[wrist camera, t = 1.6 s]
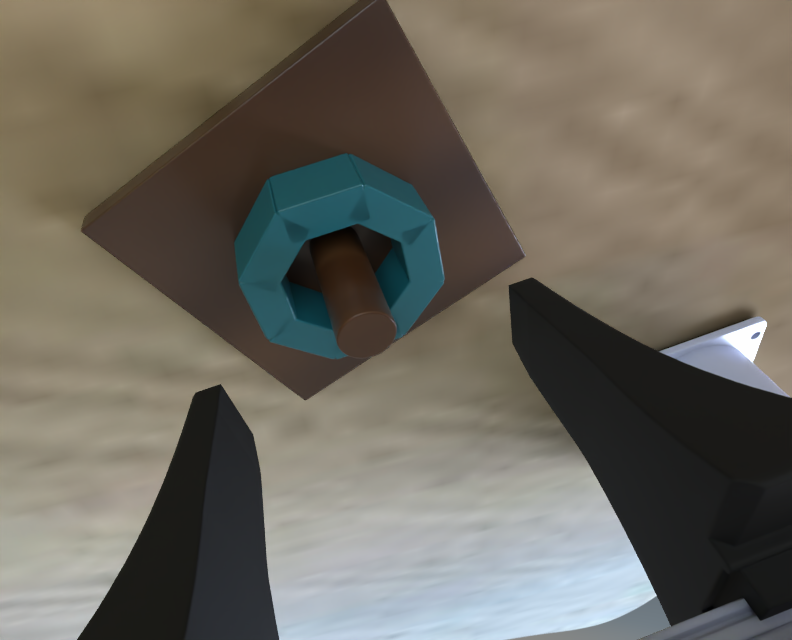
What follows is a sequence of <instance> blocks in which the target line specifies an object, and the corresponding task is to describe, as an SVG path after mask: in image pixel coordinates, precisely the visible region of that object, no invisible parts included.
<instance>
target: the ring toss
mask: <svg viewBox="0 0 792 640" xmlns="http://www.w3.org/2000/svg"><path fill="white" fill-rule="evenodd" d="M345 153H347V154H348V155H349V154H353V155H355V156H356V157H358V158H360V159H362V160H364V161H366V162H368V163H370V164H372V165H374V166H376V167H378V168H380V169H382V170H384V171H386V172H388V173H390V174H392V175H394V176H396V177H398V178H399V179H401V180H403V181H405V182H407V183H409V184H411V185H413V187H414V188H415V190H416V191H417V193H418V194H419V196H420V197H421V199H422V201H423V202H424V204H425V205H426V207H427V208H428V210H429V211H430V213H431V214H432V216H433V218H434V219H435V224H436V229H437V235H438V241H439V247H440V253H441V259H442V264H443V270H444V276H445V280H444V284H443V285H442V287H441V288H440V289H439V291H438V292H437V293H436V295H435V296H434V297H433V299H432V300H431V301H430V302H429V304H428V305H427V306H426V308H425V309H424V310H423V312H422V313H421V314H420V316H419V317H418V318H417V320H416V321H415V322H414V324H413V325H412V326H411V328H410V329H409V330H408V332H407V333H406V334H408V333H409V332H411V331H412V330H414V329H415V328H417V327H418V326H420V325H422V324H423V323H425V322H426V321H428V320H429V319H431V318H432V317H434V316H435V315H437V314H438V313H440V312H441V311H443V310H444V309H446V308H447V307H449V306H451V305H452V304H454V303H455V302H457V301H458V300H460V299H461V298H463V297H464V296H466V295H467V294H469V293H470V292H472V291H473V290H475V289H476V288H478V287H480V286H481V285H483V284H484V283H486V282H487V281H489V280H490V279H492V278H493V277H495V276H496V275H498V274H499V273H501V272H502V271H504V270H505V269H507V268H509V267H510V266H512V265H513V264H515V263H516V262H518V261H519V260H521V259H522V258H524V257H525V256H526V255H525V253H524V251H523V249H522V247H521V245H520V244H519V242H518V240H517V238H516V236H515V234H514V233H513V231H512V229H511V227H510V225H509V223H508V222H507V220H506V218H505V216H504V214H503V213H502V211H501V209H500V207H499V205H498V203H497V202H496V200H495V198H494V196H493V194H492V192H491V191H490V189H489V187H488V185H487V183H486V182H485V180H484V178H483V176H482V174H481V172H480V171H479V169H478V167H477V165H476V163H475V161H474V160H473V158H472V156H471V154H470V152H469V151H468V149H467V147H466V145H465V143H464V141H463V140H462V138H461V136H460V134H459V132H458V130H457V129H456V127H455V125H454V123H453V121H452V119H451V118H450V116H449V114H448V112H447V110H446V109H445V107H444V105H443V103H442V101H441V99H440V98H439V96H438V94H437V92H436V90H435V88H434V87H433V85H432V83H431V81H430V79H429V78H428V76H427V74H426V72H425V70H424V68H423V67H422V65H421V63H420V61H419V59H418V57H417V56H416V54H415V52H414V50H413V48H412V46H411V45H410V43H409V41H408V39H407V37H406V36H405V34H404V32H403V30H402V28H401V26H400V25H399V23H398V21H397V19H396V17H395V15H394V14H393V12H392V10H391V8H390V6H389V5H388V3H387V1H386V0H359V1H358V2H356V3H355V4H354V5H353V6H351V7H350V8H349V9H348V10H346V11H345V12H344V13H342V14H341V15H340V16H339V17H337V18H336V19H335V20H334V21H332V22H331V23H330V24H329V25H327V26H326V27H325V28H323V29H322V30H321V31H320V32H318V33H317V34H316V35H315V36H313V37H312V38H311V39H310V40H308V41H307V42H306V43H304V44H303V45H302V46H301V47H299V48H298V49H297V50H296V51H294V52H293V53H292V54H290V55H289V56H288V57H287V58H285V59H284V60H283V61H282V62H280V63H279V64H278V65H277V66H275V67H274V68H273V69H271V70H270V71H269V72H268V73H266V74H265V75H264V76H263V77H261V78H260V79H259V80H258V81H256V82H255V83H254V84H252V85H251V86H250V87H249V88H247V89H246V90H245V91H244V92H242V93H241V94H240V95H238V96H237V97H236V98H235V99H233V100H232V101H231V102H230V103H228V104H227V105H226V106H225V107H223V108H222V109H221V110H219V111H218V112H217V113H216V114H214V115H213V116H212V117H211V118H209V119H208V120H207V121H206V122H204V123H203V124H202V125H200V126H199V127H198V128H197V129H195V130H194V131H193V132H192V133H190V134H189V135H188V136H186V137H185V138H184V139H183V140H181V141H180V142H179V143H178V144H176V145H175V146H174V147H173V148H171V149H170V150H169V151H167V152H166V153H165V154H164V155H162V156H161V157H160V158H159V159H157V160H156V161H155V162H154V163H152V164H151V165H150V166H148V167H147V168H146V169H145V170H143V171H142V172H141V173H140V174H138V175H137V176H136V177H134V178H133V179H132V180H131V181H129V182H128V183H127V184H126V185H124V186H123V187H122V188H121V189H119V190H118V191H117V192H115V193H114V194H113V195H112V196H110V197H109V198H108V199H107V200H105V201H104V202H103V203H102V204H100V205H99V206H98V207H96V208H95V209H94V210H93V211H91V212H90V213H89V214H88V215H86V216H85V218H84V221H83V225H82V228H81V231H82V232H83V233H84V234H85V235H87V236H88V237H89V238H91V239H92V240H93V241H95V242H96V243H97V244H99V245H100V246H101V247H102V248H104V249H105V250H106V251H108V252H109V253H110V254H112V255H113V256H114V257H116V258H117V259H118V260H120V261H121V262H122V263H124V264H125V265H126V266H128V267H129V268H130V269H132V270H133V271H134V272H136V273H137V274H138V275H140V276H141V277H142V278H144V279H145V280H146V281H148V282H149V283H150V284H152V285H153V286H154V287H156V288H157V289H158V290H159V291H161V292H162V293H163V294H165V295H166V296H167V297H169V298H170V299H171V300H173V301H174V302H175V303H177V304H178V305H179V306H181V307H182V308H183V309H185V310H186V311H187V312H189V313H190V314H191V315H193V316H194V317H195V318H197V319H198V320H199V321H201V322H202V323H203V324H205V325H206V326H207V327H209V328H210V329H211V330H212V331H214V332H215V333H216V334H218V335H219V336H220V337H222V338H223V339H224V340H226V341H227V342H228V343H230V344H231V345H232V346H234V347H235V348H236V349H238V350H239V351H240V352H242V353H243V354H244V355H246V356H247V357H248V358H250V359H251V360H252V361H254V362H255V363H256V364H258V365H259V366H260V367H262V368H263V369H264V370H266V371H267V372H268V373H269V374H271V375H272V376H273V377H275V378H276V379H277V380H279V381H280V382H281V383H283V384H284V385H285V386H287V387H288V388H289V389H291V390H292V391H293V392H295V393H296V394H297V395H299V396H300V397H301V398H303V399H304V400H307V399H309V398H310V397H312V396H313V395H315V394H316V393H318V392H319V391H321V390H322V389H324V388H325V387H327V386H328V385H330V384H332V383H333V382H335V381H336V380H338V379H339V378H341V377H342V376H344V375H345V374H347V373H348V372H350V371H351V370H353V369H354V368H356V367H357V366H359V365H360V364H362V363H364V362H365V361H367V360H368V359H370V358H371V357H373V356H376V355H378V354H380V353H382V352H383V351H385V350H386V349H387V348H388V347H389V346H390V345H391V344H393V343H394V342H396V341H397V340H399V339H400V338H398V339H395V337H396V333H397V326H396V323H395V320H394V318H393V316H392V313H391V311H390V309H389V306H388V304H387V302H386V299H385V297H384V295H383V292H382V290H381V288H380V285H379V283H378V281H377V278H376V276H375V272H376V271H377V270H378V268H379V267H380V265H381V264H382V262H383V261H384V259H385V258H386V256H387V255H388V253H389V252H390V250H391V249H392V243H391V239H390V238H389V237H387V236H385V235H383V234H380V233H378V232H376V231H373V230H371V229H369V228H366V227H364V226H362V225H360V224H355V225H352V226H349V227H346V228H343V229H340V230H337V231H334V232H331V233H328V234H325V235H321V236H318V237H315V238H312V239H309V240H306V241H305V242H304V244H303V246H302V247H301V249H300V251H299V253H298V254H297V256H296V258H295V259H294V261H293V263H292V264H291V266H290V268H289V270H288V271H287V273H286V275H287V278H288V280H289V282H292V283H294V284H297V285H300V286H303V287H306V288H309V289H312V290H315V291H318V292H321V293H322V294H323V298H324V301H325V305H326V308H327V311H328V315H329V318H330V322H331V325H332V328H333V332H334V335H335V339H336V342H337V345H338V347H339V349H340V350H341V351H342V352H343V353H344V354H346V355H347V356H346V357H343V358H340V359H336V358H335V359H330V358H326V357H323V356H319V355H315V354H312V353H308V352H304V351H301V350H297V349H293V348H290V347H286V346H282V345H279V344H275V343H271V342H270V341H269V339H267V338H266V337H265V335H264V333H263V331H262V329H261V327H260V325H259V323H258V322H257V320H256V318H255V316H254V314H253V312H252V310H251V308H250V306H249V304H248V302H247V300H246V298H245V296H244V294H243V292H242V290H241V288H240V286H239V283H238V274H237V265H236V256H235V247H234V242H235V240H236V238H237V236H238V234H239V232H240V230H241V228H242V227H243V225H244V223H245V221H246V219H247V217H248V215H249V213H250V211H251V209H252V207H253V205H254V203H255V201H256V200H257V198H258V196H259V194H260V192H261V190H262V188H263V186H264V184H265V182H266V180H267V179H269V178H270V177H272V176H275V175H278V174H281V173H284V172H288V171H291V170H294V169H297V168H300V167H303V166H307V165H310V164H313V163H316V162H319V161H322V160H326V159H329V158H332V157H335V156H338V155H341V154H345ZM406 334H405V335H406ZM405 335H403V336H405ZM401 338H402V337H401ZM394 339H395V340H394Z"/></svg>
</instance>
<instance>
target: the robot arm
mask: <svg viewBox="0 0 792 640" xmlns="http://www.w3.org/2000/svg"><path fill="white" fill-rule="evenodd" d="M509 299H510V313H511V328H512V343H513V345H514V347H515V349H516V351H517V353H518V355H519V357H520V359H521V361H522V363H523V365H524V367H525V369H526V370H527V372H528V374H529V376H530V378H531V379H532V381H533V382H534V384H535V385H536V387H537V388H538V390H539V391H540V392H541V394H542V395H543V397H544V398H545V400H546V401H547V403H548V404H549V405H550V407H551V408H552V410H553V411H554V413H555V414H556V416H557V417H558V418H559V420H560V421H561V423H562V424H563V426H564V427H565V428H566V430H567V431H568V433H569V434H570V436H571V437H572V438H573V440H574V441H575V443H576V444H577V446H578V447H579V449H580V450H581V452H582V454H583V455H584V457H585V458H586V460H587V461H588V463H589V465H590V467H591V469H592V470H593V472H594V474H595V476H596V478H597V479H598V481H599V483H600V485H601V487H602V488H603V490H604V492H605V494H606V496H607V498H608V500H609V501H610V503H611V505H612V507H613V509H614V511H615V513H616V515H617V517H618V518H619V520H620V522H621V524H622V526H623V528H624V530H625V532H626V534H627V536H628V538H629V540H630V542H631V544H632V546H633V548H634V550H635V552H636V554H637V556H638V558H639V560H640V562H641V564H642V566H643V568H644V570H645V572H646V574H647V576H648V578H649V580H650V582H651V584H652V586H653V589H654V591H655V593H656V595H657V597H658V599H659V601H660V603H661V605H662V608H663V610H664V612H665V614H666V616H667V618H668V621H669V623H670V625H671V627H668V628H666V629H663V630H661V631H658V632H656V633H653V634H651V635H648V636H646V637H643V638H641V639H639V640H792V398H790V397H789V396H788V395H787V394H786V393H785V392H784V391H783V390H782V389H781V388H780V387H778V386H777V385H776V384H775V383H774V382H773V381H772V380H771V379H770V378H769V377H768V376H767V375H766V374H764V373H763V372H762V371H761V370H760V369H759V368H758V367H757V366H756V365H755V364H754V363H753V360H754V357H755V354H756V352H757V349H758V346H759V344H760V341H761V338H762V336H763V333H764V330H765V328H766V323H767V322H766V321H765V320H764V319H763V318H762V317H759V316H758V317H753V318H751V319H748V320H745V321H742V322H740V323H737V324H734V325H731V326H728V327H726V328H723V329H720V330H717V331H714V332H712V333H709V334H706V335H703V336H700V337H698V338H695V339H692V340H689V341H686V342H684V343H681V344H678V345H675V346H673V347H670V348H667V349H664V350H661V351H656V350H654V349H652V348H650V347H648V346H646V345H644V344H642V343H640V342H638V341H636V340H634V339H632V338H631V337H629V336H627V335H625V334H623V333H621V332H619V331H618V330H616V329H614V328H612V327H610V326H609V325H607V324H605V323H604V322H602V321H600V320H598V319H597V318H595V317H593V316H592V315H590V314H588V313H587V312H585V311H583V310H582V309H580V308H579V307H577V306H575V305H574V304H572V303H571V302H569V301H568V300H566V299H565V298H563V297H561V296H560V295H558V294H557V293H555V292H554V291H552V290H551V289H549V288H548V287H546V286H545V285H543V284H542V283H540V282H539V281H537V280H536V279H534V278H529V279H526V280H523V281H520V282H517V283H514V284H511V285H509ZM77 640H279V636H278V631H277V625H276V620H275V614H274V608H273V602H272V596H271V591H270V585H269V578H268V569H267V559H266V544H265V528H264V513H263V498H262V484H261V472H260V467H259V462H258V456H257V451H256V447H255V442H254V437H253V434H252V432H251V431H250V429H249V427H248V426H247V424H246V423H245V421H244V420H243V418H242V416H241V415H240V413H239V412H238V410H237V409H236V407H235V406H234V404H233V402H232V401H231V399H230V398H229V396H228V395H227V393H226V391H225V390H224V388H223V387H222V385H221V384H220V385H217V386H214V387H211V388H208V389H205V390H202V391H199V392H196V393H195V395H194V396H193V399H192V402H191V405H190V408H189V411H188V415H187V418H186V421H185V424H184V427H183V430H182V433H181V436H180V439H179V442H178V444H177V447H176V450H175V453H174V455H173V458H172V461H171V463H170V466H169V469H168V471H167V474H166V477H165V479H164V482H163V484H162V486H161V489H160V491H159V493H158V496H157V498H156V500H155V503H154V505H153V507H152V510H151V512H150V514H149V516H148V519H147V521H146V523H145V525H144V527H143V529H142V531H141V533H140V535H139V537H138V539H137V541H136V543H135V545H134V547H133V549H132V551H131V553H130V554H129V556H128V558H127V560H126V562H125V564H124V566H123V567H122V569H121V571H120V572H119V574H118V576H117V578H116V579H115V581H114V583H113V584H112V586H111V588H110V590H109V591H108V593H107V595H106V596H105V598H104V600H103V601H102V603H101V604H100V606H99V608H98V609H97V611H96V612H95V614H94V615H93V617H92V618H91V620H90V621H89V623H88V624H87V626H86V627H85V629H84V630H83V632H82V633H81V635H80V636H79V637H78V639H77Z"/></svg>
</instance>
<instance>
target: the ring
mask: <svg viewBox="0 0 792 640" xmlns="http://www.w3.org/2000/svg"><path fill="white" fill-rule="evenodd" d="M355 224H360V225H362V226H364V227H366V228H369V229H371V230H373V231H376V232H378V233H380V234H383V235H385V236H387V237H389V238H390V239H391V243H392V249H391V250H390V252H389V253H388V255H387V256H386V258H385V259H384V261H383V262H382V264H381V265H380V267H379V268H378V270H377V271H376V272H375V276H376V278H377V281H378V283H379V285H380V288H381V290H382V292H383V295H384V297H385V299H386V302H387V304H388V306H389V309H390V311H391V313H392V316H393V318H394V320H395V323H396V326H397V333H396V337H395V339H398V338H401V337H403V335H405V334H406V333H407V332H408V330H409V329H410V328H411V326H412V325H413V324H414V322H415V321H416V320H417V318H418V317H419V316H420V314H421V313H422V312H423V310H424V309H425V308H426V306H427V305H428V304H429V302H430V301H431V300H432V299H433V297H434V296H435V295H436V293H437V292H438V291H439V289H440V288H441V287H442V285H443V284H444V280H445V276H444V270H443V264H442V259H441V253H440V247H439V241H438V235H437V229H436V224H435V219H434V218H433V216H432V214H431V213H430V211H429V210H428V208H427V207H426V205H425V204H424V202H423V201H422V199H421V197H420V196H419V194H418V193H417V191H416V190H415V188H414V187H413V185H411V184H409V183H407V182H405V181H403V180H401V179H399V178H398V177H396V176H394V175H392V174H390V173H388V172H386V171H384V170H382V169H380V168H378V167H376V166H374V165H372V164H370V163H368V162H366V161H364V160H362V159H360V158H358V157H356V156H355V155H353V154H349V155H348V154H347V153H345V154H341V155H338V156H335V157H332V158H329V159H326V160H322V161H319V162H316V163H313V164H310V165H307V166H303V167H300V168H297V169H294V170H291V171H288V172H284V173H281V174H278V175H275V176H272V177H270V178H269V179H267V180H266V182H265V184H264V186H263V188H262V190H261V192H260V194H259V196H258V198H257V200H256V201H255V203H254V205H253V207H252V209H251V211H250V213H249V215H248V217H247V219H246V221H245V223H244V225H243V227H242V228H241V230H240V232H239V234H238V236H237V238H236V240H235V242H234V247H235V256H236V265H237V274H238V283H239V286H240V288H241V290H242V292H243V294H244V296H245V298H246V300H247V302H248V304H249V306H250V308H251V310H252V312H253V314H254V316H255V318H256V320H257V322H258V323H259V325H260V327H261V329H262V331H263V333H264V335H265V337H266V338H267V339H269V341H270V342H271V343H275V344H279V345H282V346H286V347H290V348H293V349H297V350H301V351H304V352H308V353H312V354H315V355H319V356H323V357H326V358H330V359H335V358H336V359H340V358H343V357H346V356H347V355H346V354H344V353H343V352H342V351H341V350H340V349H339V347H338V345H337V342H336V339H335V335H334V332H333V328H332V325H331V322H330V318H329V315H328V311H327V308H326V305H325V301H324V298H323V294H322V293H321V292H318V291H315V290H312V289H309V288H306V287H303V286H300V285H297V284H294V283H292V282H289V280H288V278H287V275H286V273H287V271H288V270H289V268H290V266H291V264H292V263H293V261H294V259H295V258H296V256H297V254H298V253H299V251H300V249H301V247H302V246H303V244H304V242H305V241H306V240H309V239H312V238H315V237H318V236H321V235H325V234H328V233H331V232H334V231H337V230H340V229H343V228H346V227H349V226H352V225H355ZM395 339H394V340H395Z"/></svg>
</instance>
